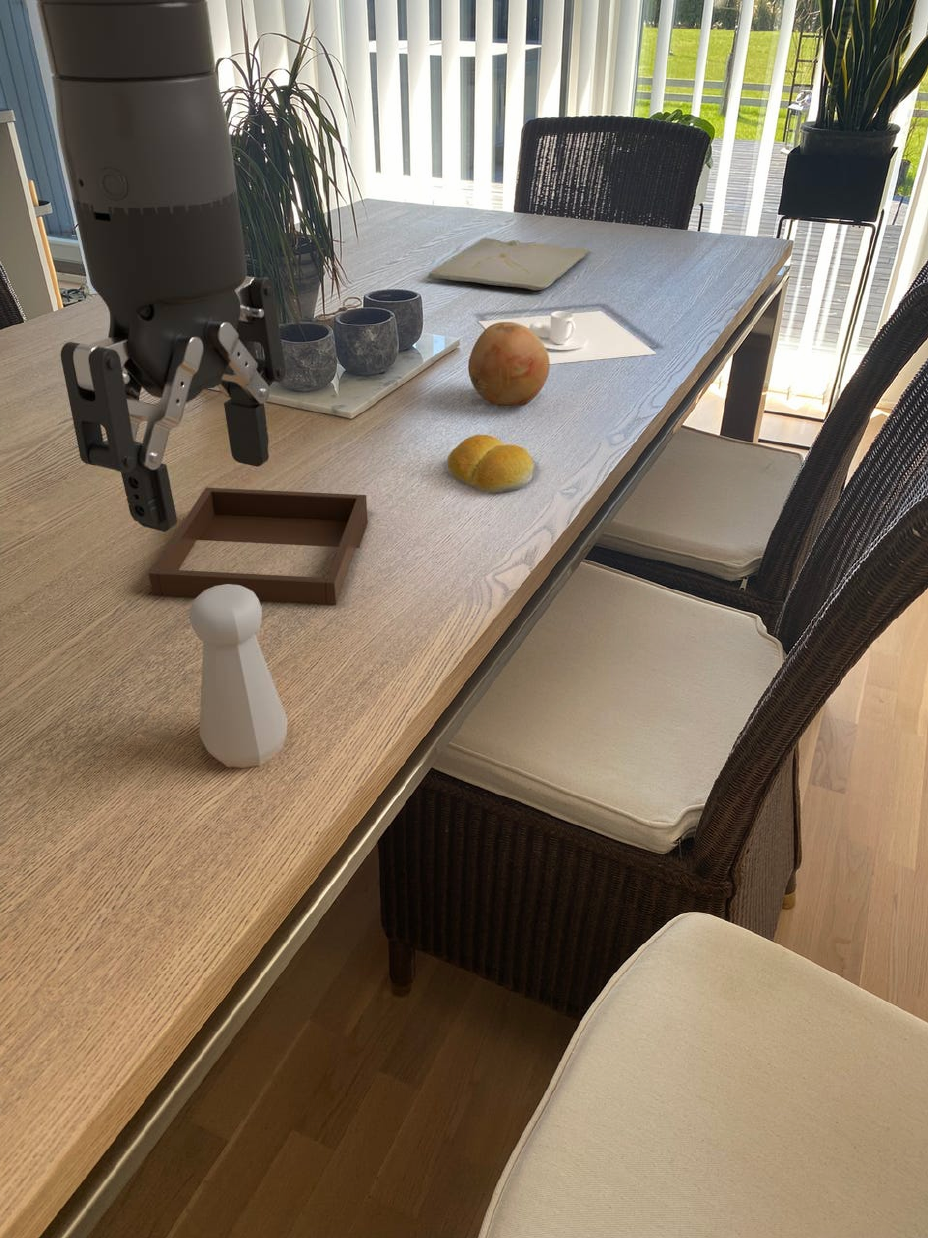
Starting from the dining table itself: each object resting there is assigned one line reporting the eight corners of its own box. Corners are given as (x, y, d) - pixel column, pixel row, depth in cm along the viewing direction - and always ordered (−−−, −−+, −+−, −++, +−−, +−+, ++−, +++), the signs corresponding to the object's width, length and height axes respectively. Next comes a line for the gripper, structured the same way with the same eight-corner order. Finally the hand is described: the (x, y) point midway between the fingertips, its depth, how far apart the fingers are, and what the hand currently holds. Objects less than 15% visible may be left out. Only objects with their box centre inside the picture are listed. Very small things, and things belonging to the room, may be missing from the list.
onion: (564, 404, 117) (570, 323, 111) (508, 427, 111) (511, 342, 105) (507, 383, 122) (509, 304, 116) (451, 403, 116) (451, 322, 111)
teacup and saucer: (521, 334, 138) (523, 306, 135) (573, 330, 140) (575, 302, 137) (542, 355, 131) (544, 325, 128) (596, 350, 133) (598, 320, 130)
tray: (154, 604, 80) (148, 573, 78) (210, 515, 93) (205, 487, 91) (337, 614, 79) (334, 583, 77) (367, 523, 92) (366, 494, 90)
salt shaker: (192, 778, 63) (157, 618, 56) (223, 721, 68) (195, 567, 60) (276, 788, 62) (252, 628, 55) (302, 730, 67) (283, 575, 60)
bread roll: (505, 503, 95) (506, 467, 93) (435, 478, 100) (435, 443, 97) (550, 474, 101) (552, 439, 98) (482, 451, 105) (483, 418, 103)
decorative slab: (479, 246, 180) (480, 235, 179) (589, 256, 174) (590, 245, 173) (427, 283, 159) (427, 271, 158) (549, 297, 153) (550, 285, 152)
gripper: (186, 154, 51) (228, 434, 60) (-26, 205, 40) (64, 535, 50) (304, 165, 48) (329, 455, 58) (111, 223, 38) (180, 567, 47)
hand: (207, 492), depth 54 cm, fingers open, 8 cm apart
